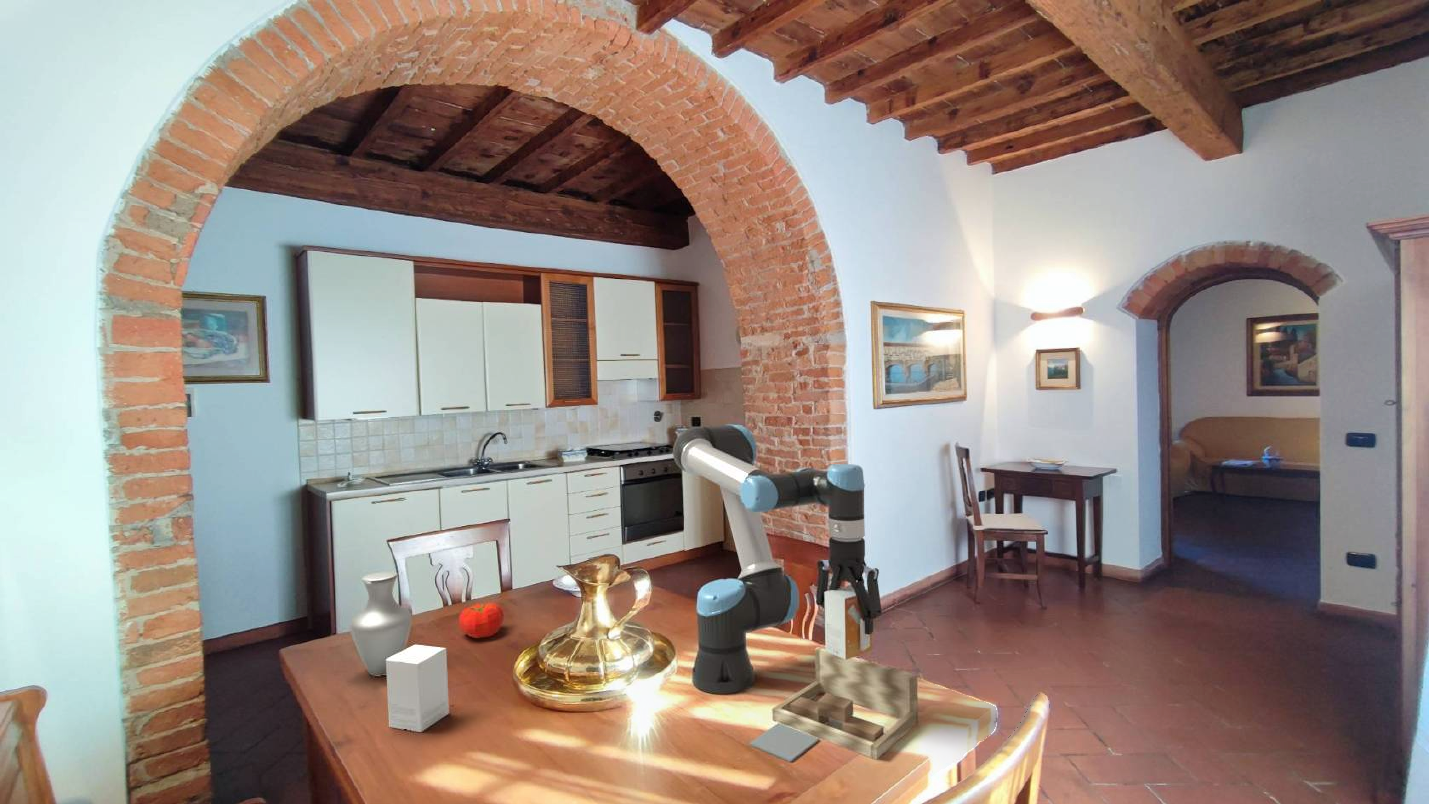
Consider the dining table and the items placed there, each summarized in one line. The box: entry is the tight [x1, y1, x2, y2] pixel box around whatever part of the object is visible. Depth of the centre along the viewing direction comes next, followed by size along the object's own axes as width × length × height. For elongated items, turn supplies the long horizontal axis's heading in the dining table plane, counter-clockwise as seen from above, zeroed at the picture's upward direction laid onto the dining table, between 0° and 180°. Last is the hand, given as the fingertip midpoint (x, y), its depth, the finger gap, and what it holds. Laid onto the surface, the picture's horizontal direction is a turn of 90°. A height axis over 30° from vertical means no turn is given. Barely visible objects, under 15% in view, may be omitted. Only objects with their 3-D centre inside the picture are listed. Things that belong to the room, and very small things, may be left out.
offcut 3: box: [841, 715, 885, 743], centre depth 134 cm, size 7×4×4 cm, turn 50°
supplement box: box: [386, 644, 450, 733], centre depth 147 cm, size 9×9×15 cm
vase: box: [349, 571, 413, 675], centre depth 173 cm, size 14×14×25 cm
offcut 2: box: [817, 693, 854, 723], centre depth 138 cm, size 6×4×3 cm, turn 55°
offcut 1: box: [790, 697, 830, 725], centre depth 143 cm, size 7×4×4 cm, turn 50°
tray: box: [771, 646, 919, 761], centre depth 142 cm, size 24×18×10 cm
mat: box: [748, 722, 820, 763], centre depth 134 cm, size 10×10×1 cm
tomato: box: [458, 602, 504, 639], centre depth 197 cm, size 14×13×9 cm
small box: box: [824, 584, 873, 660], centre depth 143 cm, size 8×6×13 cm
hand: (848, 643), depth 143 cm, fingers closed on small box, 7 cm apart
